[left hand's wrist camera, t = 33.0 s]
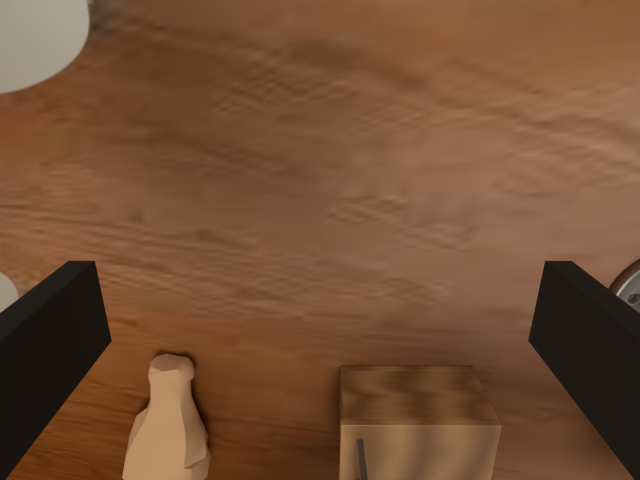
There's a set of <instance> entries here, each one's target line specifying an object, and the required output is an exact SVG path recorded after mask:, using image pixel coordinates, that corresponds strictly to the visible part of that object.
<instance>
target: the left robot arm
mask: <svg viewBox="0 0 640 480" xmlns="http://www.w3.org/2000/svg"><path fill="white" fill-rule="evenodd" d="M111 341H112V340H111V335H110V331H109V326H108V321H107V317H106V312H105V307H104V302H103V298H102V293H101V288H100V284H99V279H98V274H97V270H96V265H95V261H68V262H66V263H65V264H64V265H63V266H61V267H60V268H59V269H57V270H56V271H55V272H53V273H52V274H51V275H49V276H48V277H47V278H46V279H44V280H43V281H42V282H40V283H39V284H38V285H36V286H35V287H34V288H32V289H31V290H30V291H29V292H27V293H26V294H25V295H23V296H22V297H21V298H19V299H18V300H17V301H16V302H14V303H13V304H12V305H10V306H9V307H8V308H6V309H5V310H4V311H2V312H1V313H0V480H5V479H6V478H7V477H8V475H9V474H10V473H11V472H12V470H13V469H14V468H15V466H16V465H17V464H18V462H19V461H20V460H21V458H22V457H23V456H24V455H25V453H26V452H27V451H28V449H29V448H30V447H31V445H32V444H33V443H34V442H35V440H36V439H37V438H38V436H39V435H40V434H41V432H42V431H43V430H44V428H45V427H46V426H47V425H48V423H49V422H50V421H51V419H52V418H53V417H54V415H55V414H56V413H57V411H58V410H59V409H60V408H61V406H62V405H63V404H64V402H65V401H66V400H67V398H68V397H69V396H70V394H71V393H72V392H73V391H74V389H75V388H76V387H77V385H78V384H79V383H80V381H81V380H82V379H83V378H84V376H85V375H86V374H87V372H88V371H89V370H90V368H91V367H92V366H93V364H94V363H95V362H96V361H97V359H98V358H99V357H100V355H101V354H102V353H103V351H104V350H105V349H106V347H107V346H108V345H109V344H110V342H111ZM528 341H529V342H530V344H531V345H532V346H533V347H534V349H535V350H536V351H537V353H538V354H539V355H540V357H541V358H542V359H543V361H544V362H545V363H546V364H547V366H548V367H549V368H550V370H551V371H552V372H553V374H554V375H555V376H556V378H557V379H558V380H559V381H560V383H561V384H562V385H563V387H564V388H565V389H566V391H567V392H568V393H569V394H570V396H571V397H572V398H573V400H574V401H575V402H576V404H577V405H578V406H579V408H580V409H581V410H582V411H583V413H584V414H585V415H586V417H587V418H588V419H589V421H590V422H591V423H592V425H593V426H594V427H595V428H596V430H597V431H598V432H599V434H600V435H601V436H602V438H603V439H604V440H605V442H606V443H607V444H608V445H609V447H610V448H611V449H612V451H613V452H614V453H615V455H616V456H617V457H618V458H619V460H620V461H621V462H622V464H623V465H624V466H625V468H626V469H627V470H628V472H629V473H630V474H631V475H632V477H633V478H634V479H635V480H640V313H639V312H638V311H636V310H635V309H634V308H632V307H631V306H630V305H628V304H627V303H626V302H625V301H623V300H622V299H621V298H619V297H618V296H617V295H615V294H614V293H613V292H611V291H610V290H609V289H608V288H606V287H605V286H604V285H602V284H601V283H600V282H598V281H597V280H596V279H594V278H593V277H592V276H591V275H589V274H588V273H587V272H585V271H584V270H583V269H581V268H580V267H579V266H577V265H576V264H575V263H574V262H572V261H545V265H544V270H543V274H542V279H541V284H540V288H539V293H538V298H537V302H536V307H535V312H534V317H533V321H532V326H531V331H530V335H529V340H528Z"/></svg>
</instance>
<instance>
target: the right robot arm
mask: <svg viewBox="0 0 640 480" xmlns="http://www.w3.org/2000/svg"><path fill="white" fill-rule="evenodd" d="M610 291H611V292H613V293H614V294H615V295H617V296H618V297H619V298H621V299H622V300H623V301H625V302H626V303H627V304H628V305H630V306H631V307H632V308H634V309H635V310H636V311H638V312H639V313H640V261H638V262H636V263H635V264H634V265H632V266H631V267H630V268H629V269H627V270H626V271H625V272H624V273H623V274H622V275H621V276H620V277H619V278H618V279H617V280H616V282H615V283H614V284H613V286H612V287H611V289H610Z"/></svg>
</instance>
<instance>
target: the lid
mask: <svg viewBox="0 0 640 480" xmlns="http://www.w3.org/2000/svg"><path fill="white" fill-rule="evenodd" d="M501 428H502V424H501V422H500V421H499V420H396V419H341V432H340V471H339V480H491V477H492V472H493V467H494V462H495V457H496V452H497V448H498V443H499V438H500V433H501Z"/></svg>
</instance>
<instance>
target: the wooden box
mask: <svg viewBox="0 0 640 480" xmlns="http://www.w3.org/2000/svg"><path fill="white" fill-rule="evenodd" d="M341 419H396V420H499V419H498V417H497V415H496V413H495V411H494V409H493V407H492V405H491V403H490V401H489V399H488V397H487V395H486V393H485V391H484V389H483V387H482V385H481V383H480V381H479V379H478V377H477V375H476V373H475V372H474V369H473V367H472V366H341V377H340V417H339V435H340V432H341Z"/></svg>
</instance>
